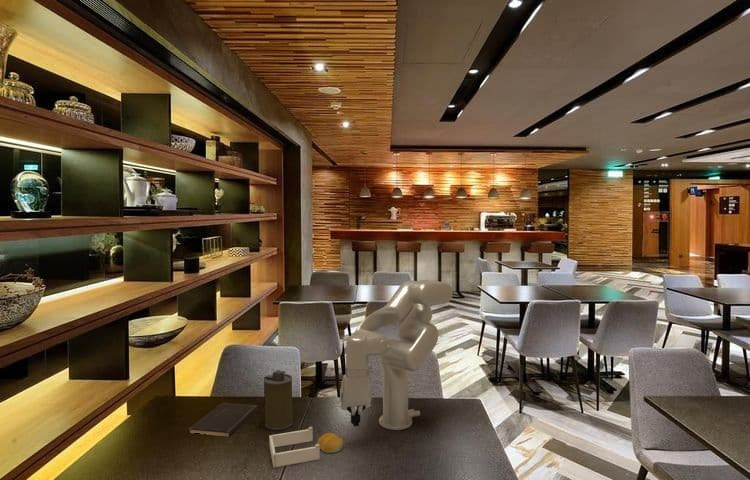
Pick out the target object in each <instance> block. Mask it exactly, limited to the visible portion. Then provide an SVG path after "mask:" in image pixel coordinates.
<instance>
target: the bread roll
mask: <svg viewBox="0 0 750 480" xmlns="http://www.w3.org/2000/svg"><path fill="white" fill-rule="evenodd" d="M316 442H317V443H316V444H319V445H320V451H322V452H324V453H325V454H333V453H334V454H335V453H339V452H340V451H341V450H342V449H343V448H344V439H342V437H339V436H338V435H337V434H335V433H334V432H326V433H324V434H322V435H321V436H320V437H319V438H318V440H317V441H316Z"/></svg>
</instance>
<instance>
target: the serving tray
mask: <svg viewBox="0 0 750 480" xmlns="http://www.w3.org/2000/svg"><path fill="white" fill-rule="evenodd" d="M313 433H314V430H313V426H309V427H308V428H306V429H302V430H295V431H290V432H289V431H288V432H284V433H277V434H271V435H270V434H269V440H268V441H269V450H270V451H269V452H270V456H271V462H272V468H279V467H284V466H290V465H294V464H301V463H306V462H312V461H313V462H314V461H317V460H320V459H321V456H320V454H321V453H320V451H321V449H320V445H319V444H317V443H316V444H314V446H311V447H310V446H309V447H304V448H299V449H293V450H288V451H287V450H286V451H282V452H276V449H275V448H279V447H285V446H291V445H297V444H304V443H308V442H313V441H314V439H313V437H314V436H313Z"/></svg>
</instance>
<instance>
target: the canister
mask: <svg viewBox="0 0 750 480" xmlns="http://www.w3.org/2000/svg"><path fill="white" fill-rule="evenodd" d="M263 391H264V392H263V396H264V397H263V399H264V401H263V402H264V406H265V407H264V408H265V409H264V411H265V413H264V414H265V416H264V417H265V420H264V421H265V423H264V426H265V428H267V429H268V430H272V431H279V430H284V429H288V428H290V427H291V426H292V425H293V423H294V420H293V419H294V418H293V376H292V375H290V374H287V373H286V371H283V370H280V369H277V370H275V371H274V372H272V374H271V375H269V374H268V375H265V376H263Z"/></svg>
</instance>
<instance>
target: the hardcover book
mask: <svg viewBox="0 0 750 480" xmlns="http://www.w3.org/2000/svg"><path fill="white" fill-rule="evenodd" d="M258 410H259V406H258V405H257V404H245V403H244V404H243V403H233V402H231V403H230V402H221V403H220V404H218V405H217V406H216V407H215V408H213V409H212V410H211V411H210V412H208V413H207V414H206V415H204V416H202V418H200V419H199V420H198V421H197V422H195V423H194V424H193V425H191V426H190V427H189V428H188V430H189V433H190V434H194V433H200V434H199V435H204V434H206V436H207V435H208V436H216V437H227V438H230V437H231V436H233V434H234V433H235V432H237V431H238V429H239V428H241V427H242V426H241V425H242V424H243V425H244V424H245V423H247V421H248V420H249V419H250V418H251V417H252V416H253V415H254V414H255V413H256V412H258Z"/></svg>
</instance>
